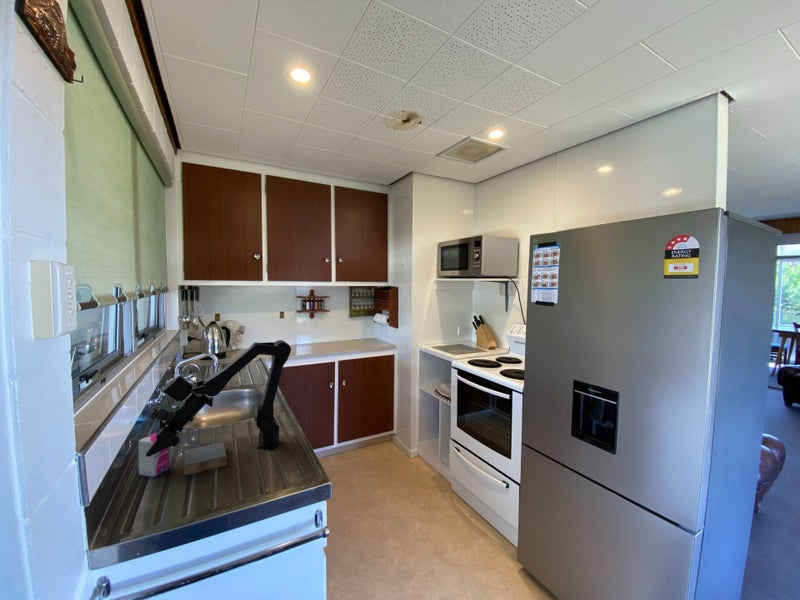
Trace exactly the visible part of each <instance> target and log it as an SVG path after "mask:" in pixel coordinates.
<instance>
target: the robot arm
mask: <svg viewBox="0 0 800 600" xmlns="http://www.w3.org/2000/svg"><path fill="white" fill-rule="evenodd" d="M291 352H292V347H291V345H290V344H289V343H288V342H286V341H285V340H283V339H279V340H276V341H266V342H260V341H259V342H257V341H256V342H253V343H252V344H251V345H250V346H249V347H248V348H247V349H245V350H244V351H243V352H242V353H241V354H239V355H238V356H237V357H236V358H235V359H233V360H232V361H231V362H229V364H227V365H226V366H225V367H223V368H222V369H220V370H217V371H214V372H213V373H211V374H210V375H209V376H207V377H205V378H204V379H203V380H199V381H195V382H190V381H189V380H187V379H186V378H185V376H183V375H181V374H178V376H176V377H175V378H174V379H172V380H171V381H170V382H168V383H167V385H165V386H164V387H163V389H162V390H161V392H162V393H163V394H165V396H168V397H169V398H170V399H172V400H174V401H175V402H181V404H179V405H176V406H175V407H171V406H168V405H162V404H160V403H159V404H157V403H156V404H154V406H153V407H152V409H151V411H150V414H149V419H152V420H159V427H158V429H157V431H156V432H155V433H157V434H156V441H155V443H154V444H153V445H152V447H151V448H150V449H149V451H148V452H147V453H146V456H147V457H149V456H151V455H154V454H156V453H158V452H160V451H162V450H164V449H166V448H169V449H170V448H172V447H173V448H175V447H176V446H177V445H178V444H179V443H180V442H181V433H182V432H183V431H184V429H185V428H184V427H186V426H187V425H188V423H189V422H193V420H194V419H195V418H194V417H195V416H196V415H197V414H198V413H199V412H200V411H201V410H202V409H203V408H204V407H205V406H206V405H207V406H209V407H211V408H212V407H213V406H214V404H213V402H214V397H216V396H218V395H219V394H220V393H222V392H221V391H223V390H224V388H226V386H227V385H228V384H229V382H230V380H231V379H232V378H233V377H234V376H236V375H237V374H238V373H239V372H240V371H241V370H243V369H244V368H245V367H246V366H247V365H249V364H250V363H251V362H252V361H254V359H256V358H257V357H258V356H260V355H262V356H263V355H264V356H271V365H270V367H269V373H268V376H267V381H266V385H265V387H264V392H263V394H262V395H263V396H262V400H261V401H260V403H259V404H258V403H257V404H255V405H254V411H253V413H252V417H253V420H254V422H255V425H256V427H257V429H259V433H258V444H257V445H256V448H257V449H262V450H266V451H273V450H274V449H276V448H277V447H278V446H279V445H281V444H282V443H283V442H282V440H280V425H279V423H278V421H277V418H276V417H274V414H275V413H274V405H275V399H276V396H277V392H278V388H279V383H280V379H281V375H282V372H283V368H284V366H285V364H286V363H287V362H288V360H289V356H290V355H291Z"/></svg>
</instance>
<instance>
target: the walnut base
mask: <svg viewBox="0 0 800 600" xmlns="http://www.w3.org/2000/svg"><path fill="white" fill-rule="evenodd" d="M183 461H184V462H183V473H184V474H183V476H188V475H192V474H196V473H200V472H204V471H208V470H213V469H216V468H220V467H224V466H227V465H228V456H227V450H226V444H225V442H224V441H222V442H218V443H217V442H216V443H212V444H208V445H203V446H198V447H194V448H193V447H192V448H189V449H186V450H185V451H184V460H183Z"/></svg>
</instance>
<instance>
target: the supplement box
mask: <svg viewBox="0 0 800 600" xmlns="http://www.w3.org/2000/svg"><path fill="white" fill-rule="evenodd" d="M156 434H157V433H156V432H154V433H152V434H151V435H148V436H146V437H143V438H142V439H139V440H138V476H139V475H140V476H139V477H143V476H144V478H151V479H155V478H156V477H157V476H159V475H161V474H163V473H164V472H165V471H168V470H169V469H170V447H169V448H166V449H164V450H162V451H160V452H158V453H156V454H154V455H151V456H149V457H147V456H146V453H147V452H148V451H149V449H150V448H151V447H152V445H153V444H154V443H155V441H156Z"/></svg>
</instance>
